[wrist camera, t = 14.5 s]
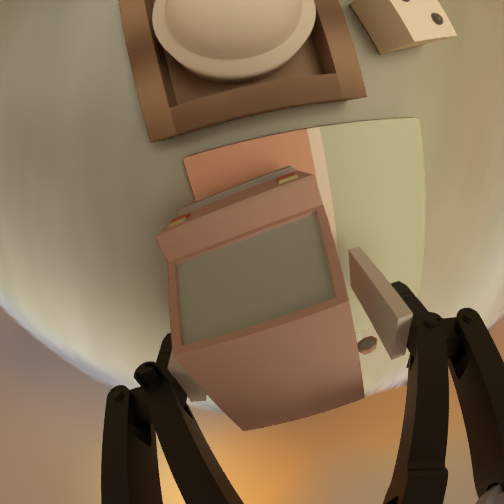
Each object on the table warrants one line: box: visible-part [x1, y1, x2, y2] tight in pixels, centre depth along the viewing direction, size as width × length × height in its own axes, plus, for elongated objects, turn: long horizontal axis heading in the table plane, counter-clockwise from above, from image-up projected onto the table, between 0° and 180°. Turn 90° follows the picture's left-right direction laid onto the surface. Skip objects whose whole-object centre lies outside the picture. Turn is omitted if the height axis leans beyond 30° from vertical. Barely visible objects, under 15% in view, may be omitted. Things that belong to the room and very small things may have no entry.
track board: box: [183, 117, 426, 333], centre depth 19 cm, size 17×16×1 cm
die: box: [350, 0, 457, 55], centre depth 10 cm, size 4×4×5 cm
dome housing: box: [119, 0, 367, 143], centre depth 11 cm, size 12×12×3 cm
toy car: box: [155, 166, 377, 431], centre depth 14 cm, size 9×15×10 cm, turn 21°
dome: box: [152, 0, 316, 84], centre depth 9 cm, size 8×8×7 cm
